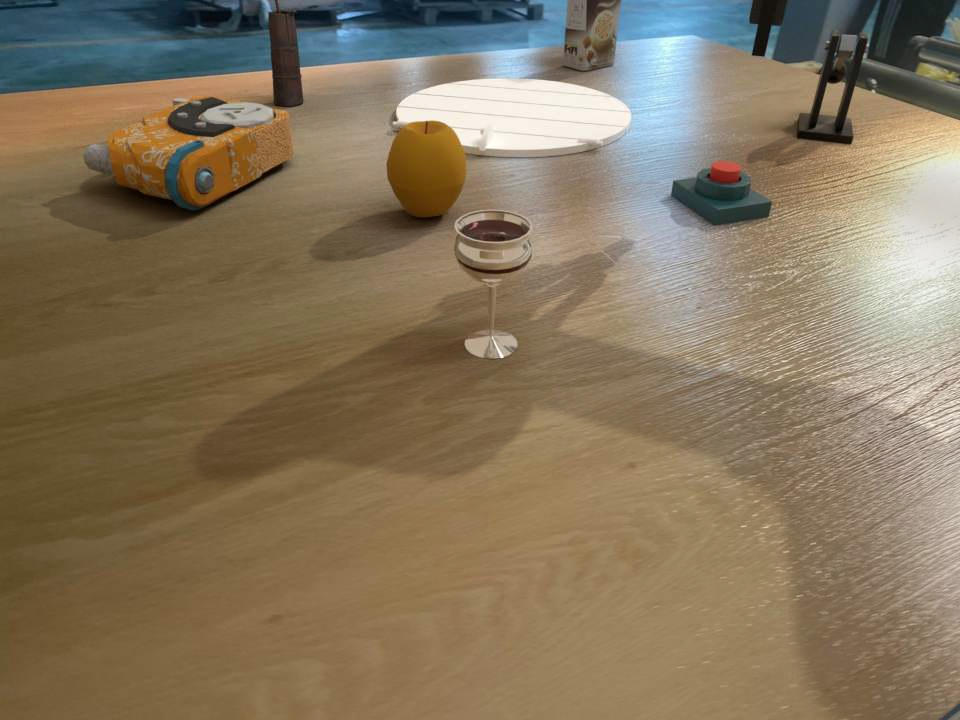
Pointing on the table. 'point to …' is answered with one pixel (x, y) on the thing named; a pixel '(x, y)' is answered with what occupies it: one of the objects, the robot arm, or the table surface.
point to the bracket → (839, 125)
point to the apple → (426, 168)
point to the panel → (721, 199)
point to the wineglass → (492, 266)
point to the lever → (842, 58)
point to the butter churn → (285, 58)
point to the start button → (725, 172)
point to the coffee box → (591, 33)
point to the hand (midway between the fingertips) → (758, 53)
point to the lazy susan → (520, 116)
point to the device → (196, 149)
